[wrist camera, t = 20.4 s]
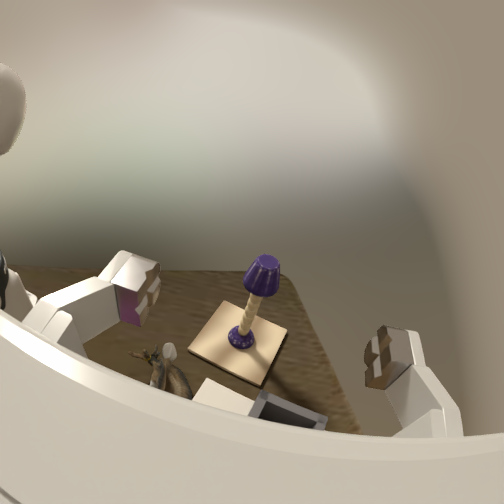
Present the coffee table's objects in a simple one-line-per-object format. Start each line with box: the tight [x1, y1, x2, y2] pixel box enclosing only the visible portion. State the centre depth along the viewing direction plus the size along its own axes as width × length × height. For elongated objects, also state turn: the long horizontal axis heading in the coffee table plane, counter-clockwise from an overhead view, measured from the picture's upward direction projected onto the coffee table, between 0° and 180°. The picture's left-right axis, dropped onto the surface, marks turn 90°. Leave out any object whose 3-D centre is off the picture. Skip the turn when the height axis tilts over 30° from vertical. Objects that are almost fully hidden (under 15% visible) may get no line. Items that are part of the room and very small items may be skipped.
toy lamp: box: [228, 254, 280, 349], centre depth 41 cm, size 5×5×17 cm
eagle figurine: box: [128, 343, 192, 400], centre depth 36 cm, size 8×7×9 cm
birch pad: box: [188, 300, 287, 387], centre depth 47 cm, size 12×12×1 cm
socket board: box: [192, 378, 328, 431], centre depth 29 cm, size 20×18×6 cm
